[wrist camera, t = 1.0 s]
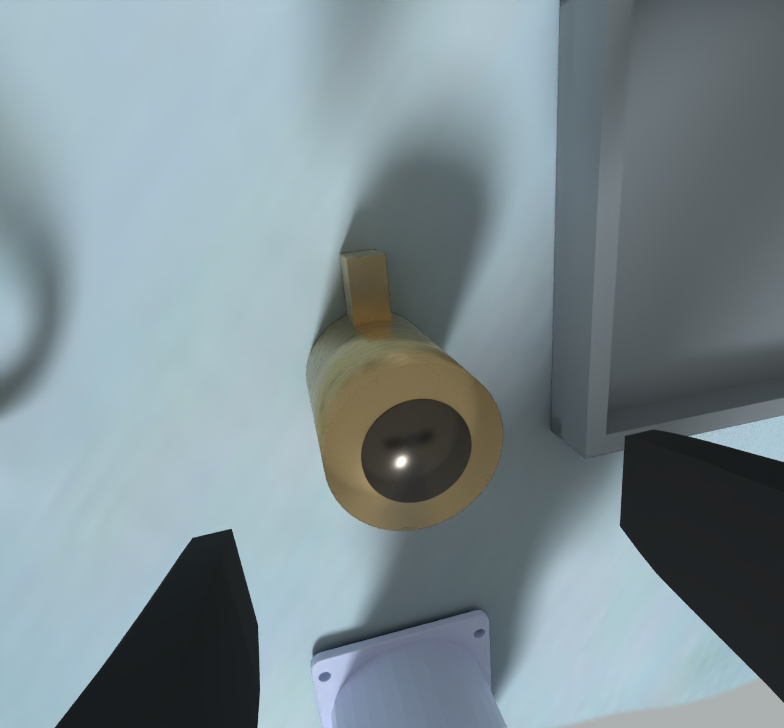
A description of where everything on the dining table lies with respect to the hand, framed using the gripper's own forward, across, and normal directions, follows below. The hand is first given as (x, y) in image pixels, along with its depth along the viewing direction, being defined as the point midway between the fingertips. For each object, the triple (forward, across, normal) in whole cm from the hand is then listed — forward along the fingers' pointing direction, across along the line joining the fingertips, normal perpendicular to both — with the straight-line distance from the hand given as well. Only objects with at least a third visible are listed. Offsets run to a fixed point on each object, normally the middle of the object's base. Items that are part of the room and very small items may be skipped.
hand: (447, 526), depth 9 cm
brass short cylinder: (+10, 0, 0) cm, 10 cm away
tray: (+10, -16, -3) cm, 18 cm away
